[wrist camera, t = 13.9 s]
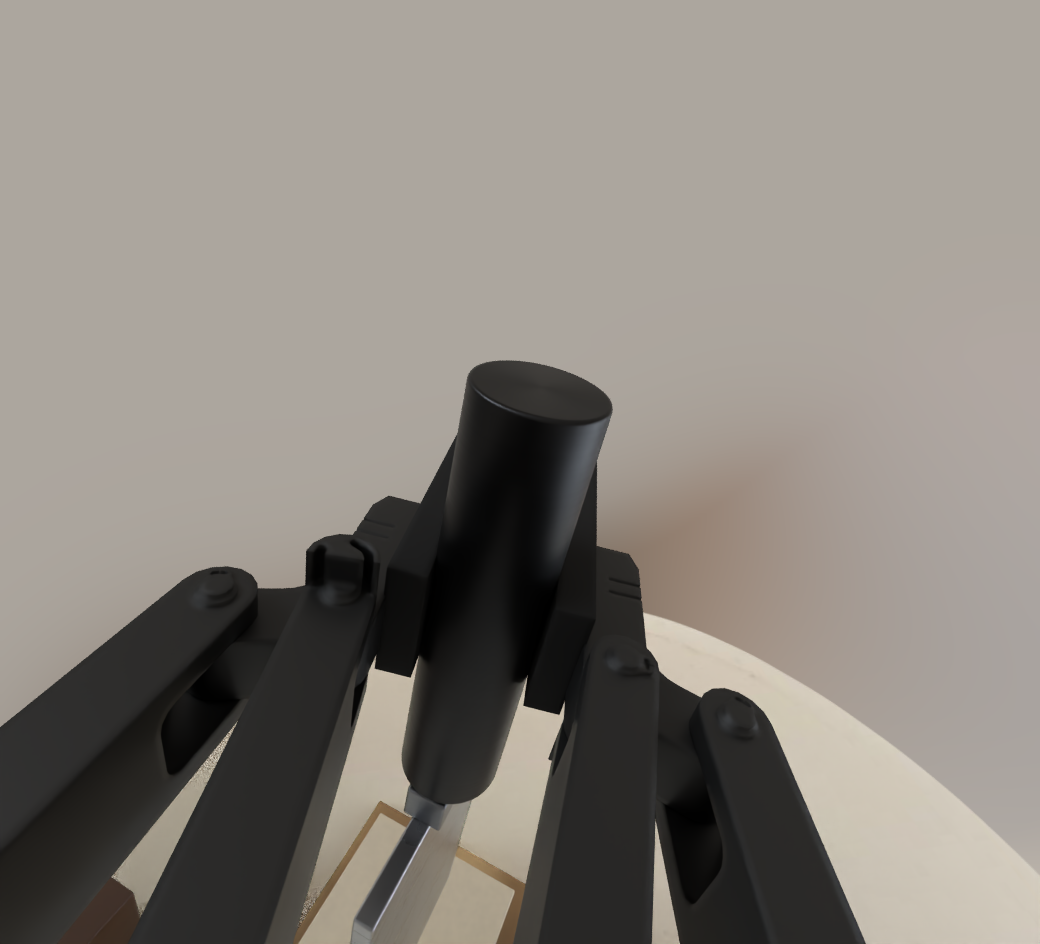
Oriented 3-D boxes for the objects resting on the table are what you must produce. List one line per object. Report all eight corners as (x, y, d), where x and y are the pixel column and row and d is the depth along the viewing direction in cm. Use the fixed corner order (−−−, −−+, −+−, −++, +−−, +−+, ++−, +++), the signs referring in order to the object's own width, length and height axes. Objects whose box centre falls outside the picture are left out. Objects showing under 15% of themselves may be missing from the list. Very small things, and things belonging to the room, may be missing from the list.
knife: (304, 1075, 18) (342, 435, 6) (418, 858, 24) (545, 326, 12) (368, 1122, 17) (534, 516, 6) (469, 888, 23) (650, 360, 12)
